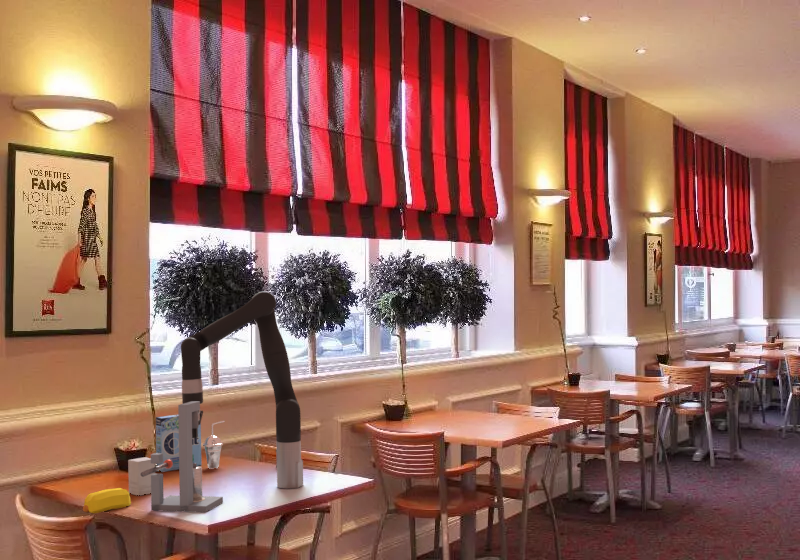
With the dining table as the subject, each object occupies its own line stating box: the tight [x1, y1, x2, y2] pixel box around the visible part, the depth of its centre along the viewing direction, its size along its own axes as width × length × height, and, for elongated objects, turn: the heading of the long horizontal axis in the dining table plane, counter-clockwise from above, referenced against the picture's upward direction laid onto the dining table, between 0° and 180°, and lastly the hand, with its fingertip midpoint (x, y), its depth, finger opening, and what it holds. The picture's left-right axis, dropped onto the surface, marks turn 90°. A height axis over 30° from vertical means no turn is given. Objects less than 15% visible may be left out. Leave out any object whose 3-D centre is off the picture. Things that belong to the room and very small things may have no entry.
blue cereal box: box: [155, 414, 203, 473], centre depth 369 cm, size 20×5×23 cm, turn 134°
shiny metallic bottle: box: [193, 463, 203, 501], centre depth 300 cm, size 5×5×12 cm
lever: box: [141, 459, 173, 477], centre depth 295 cm, size 3×20×3 cm, turn 168°
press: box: [150, 401, 224, 513], centre depth 299 cm, size 20×14×36 cm
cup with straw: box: [202, 420, 225, 470], centre depth 368 cm, size 8×9×20 cm
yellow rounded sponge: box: [82, 487, 132, 515], centre depth 297 cm, size 18×7×8 cm
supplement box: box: [127, 456, 156, 497], centre depth 321 cm, size 7×7×13 cm
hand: (194, 437), depth 320 cm, fingers closed
